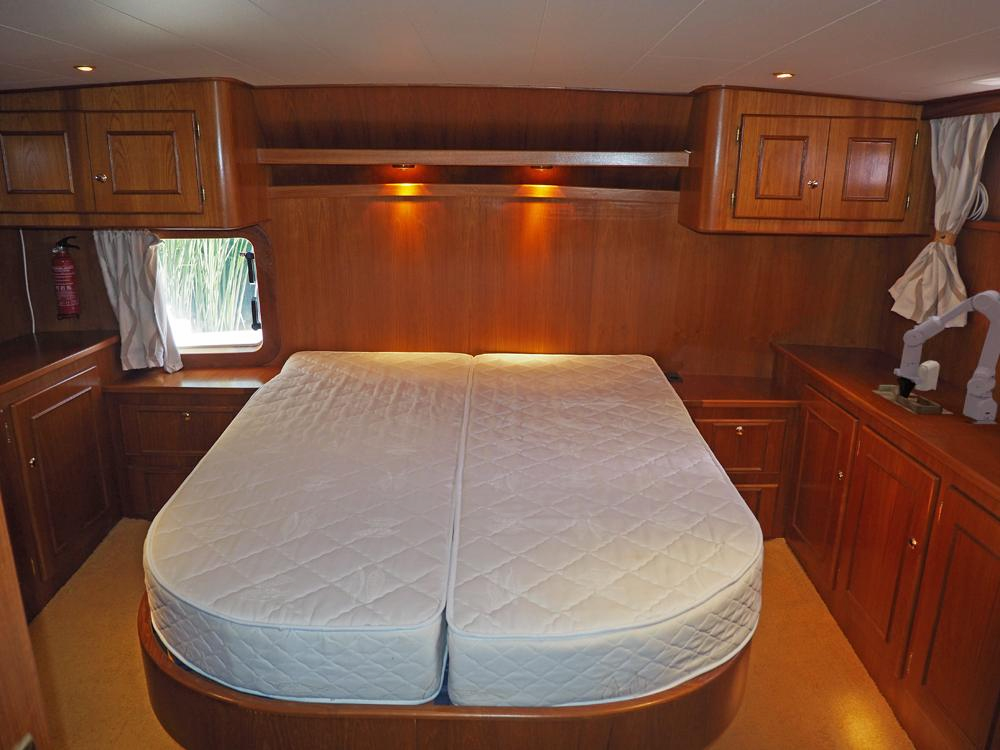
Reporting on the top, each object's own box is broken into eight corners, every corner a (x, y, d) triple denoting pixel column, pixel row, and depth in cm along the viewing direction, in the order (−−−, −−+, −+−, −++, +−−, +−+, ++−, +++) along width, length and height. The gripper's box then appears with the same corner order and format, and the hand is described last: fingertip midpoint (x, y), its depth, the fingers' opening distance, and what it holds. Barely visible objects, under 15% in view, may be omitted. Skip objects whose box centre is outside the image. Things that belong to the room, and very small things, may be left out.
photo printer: (924, 395, 272) (929, 364, 269) (912, 392, 276) (918, 361, 273) (937, 391, 278) (942, 360, 275) (925, 388, 282) (931, 358, 278)
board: (953, 417, 246) (955, 407, 245) (913, 417, 246) (915, 407, 245) (906, 394, 273) (907, 385, 272) (870, 394, 273) (871, 384, 272)
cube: (907, 398, 262) (908, 388, 261) (896, 398, 262) (898, 388, 261) (900, 395, 266) (902, 385, 265) (890, 395, 266) (891, 385, 265)
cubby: (941, 413, 246) (943, 406, 245) (917, 413, 246) (919, 406, 245) (919, 402, 258) (920, 395, 258) (896, 402, 258) (897, 395, 257)
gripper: (888, 357, 264) (882, 392, 267) (911, 367, 250) (905, 403, 253) (906, 357, 264) (901, 392, 268) (931, 367, 250) (924, 404, 254)
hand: (904, 398), depth 260 cm, fingers closed
